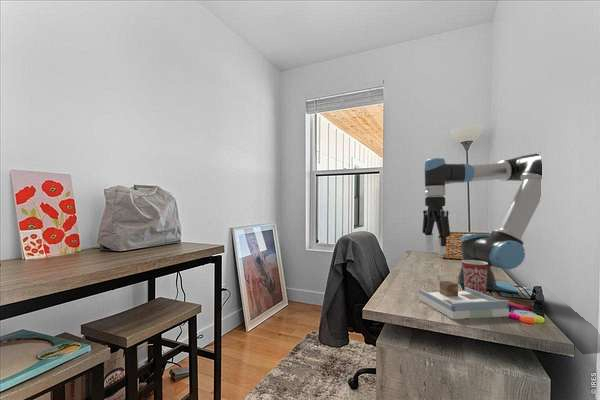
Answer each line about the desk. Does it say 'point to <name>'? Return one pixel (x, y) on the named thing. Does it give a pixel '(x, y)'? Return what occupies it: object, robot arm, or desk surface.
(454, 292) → the walnut cube
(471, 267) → the mug
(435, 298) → the tray
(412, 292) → the desk surface
